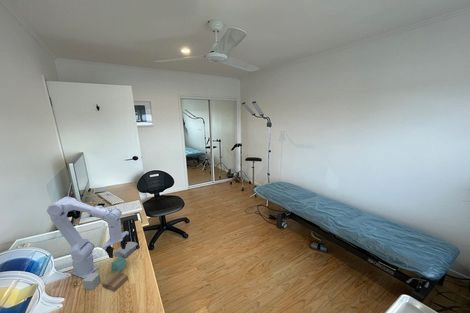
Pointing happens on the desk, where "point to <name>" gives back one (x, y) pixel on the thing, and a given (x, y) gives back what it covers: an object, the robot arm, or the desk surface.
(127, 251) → the stone block
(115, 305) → the desk surface
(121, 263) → the teal cube
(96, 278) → the grey cube
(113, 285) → the walnut base block
